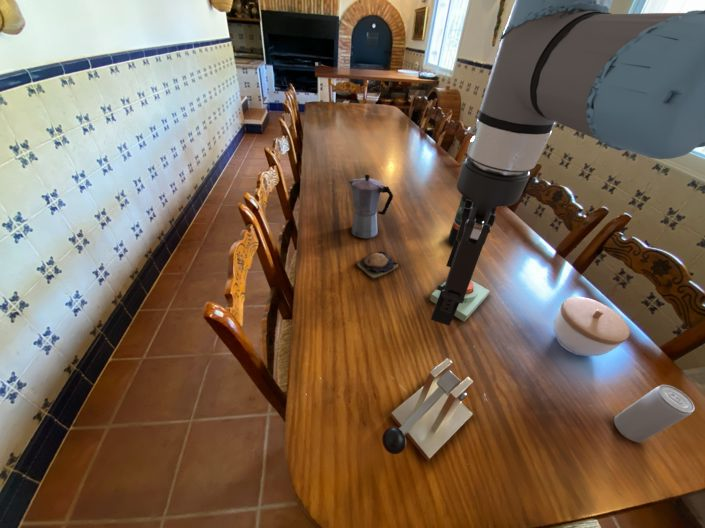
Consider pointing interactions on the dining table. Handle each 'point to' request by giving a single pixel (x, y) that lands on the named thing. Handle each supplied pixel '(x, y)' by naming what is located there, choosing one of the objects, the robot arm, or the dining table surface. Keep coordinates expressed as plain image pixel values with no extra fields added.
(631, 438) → the beverage can
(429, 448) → the lever bracket
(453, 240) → the wine bottle
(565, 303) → the lidded bowl
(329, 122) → the dining table surface
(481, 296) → the button box
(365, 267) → the bread roll
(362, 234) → the moka pot
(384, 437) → the lever
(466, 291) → the button
